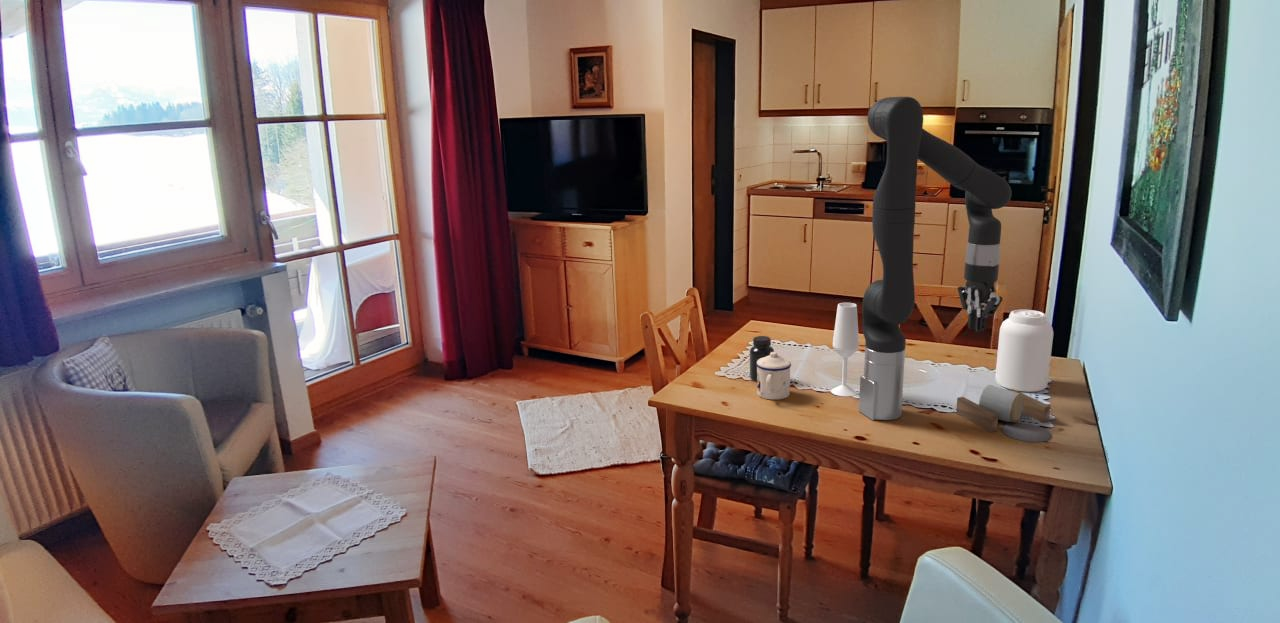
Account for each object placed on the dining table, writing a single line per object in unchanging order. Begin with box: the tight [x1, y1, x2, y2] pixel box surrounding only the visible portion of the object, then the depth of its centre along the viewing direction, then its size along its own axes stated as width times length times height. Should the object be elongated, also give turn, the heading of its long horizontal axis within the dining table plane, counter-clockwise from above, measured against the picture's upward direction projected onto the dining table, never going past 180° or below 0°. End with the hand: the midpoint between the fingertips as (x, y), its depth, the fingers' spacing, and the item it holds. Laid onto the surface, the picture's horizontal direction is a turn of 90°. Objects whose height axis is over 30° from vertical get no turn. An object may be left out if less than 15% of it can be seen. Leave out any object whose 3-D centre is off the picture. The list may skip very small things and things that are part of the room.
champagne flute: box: [830, 302, 860, 397], centre depth 195 cm, size 7×7×24 cm
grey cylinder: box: [978, 384, 1024, 423], centre depth 178 cm, size 11×8×8 cm
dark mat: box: [1001, 422, 1052, 443], centre depth 170 cm, size 10×10×1 cm
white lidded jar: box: [994, 308, 1054, 393], centre depth 196 cm, size 12×12×20 cm
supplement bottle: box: [749, 335, 775, 383], centre depth 209 cm, size 7×7×12 cm
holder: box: [955, 389, 1051, 433], centre depth 178 cm, size 16×12×4 cm
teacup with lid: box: [756, 351, 792, 401], centre depth 196 cm, size 12×9×12 cm
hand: (976, 329), depth 184 cm, fingers closed
